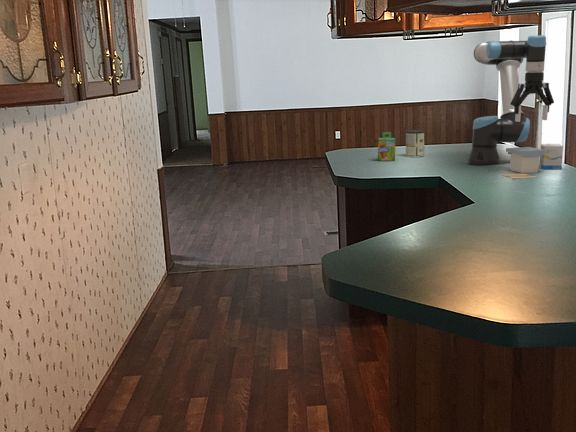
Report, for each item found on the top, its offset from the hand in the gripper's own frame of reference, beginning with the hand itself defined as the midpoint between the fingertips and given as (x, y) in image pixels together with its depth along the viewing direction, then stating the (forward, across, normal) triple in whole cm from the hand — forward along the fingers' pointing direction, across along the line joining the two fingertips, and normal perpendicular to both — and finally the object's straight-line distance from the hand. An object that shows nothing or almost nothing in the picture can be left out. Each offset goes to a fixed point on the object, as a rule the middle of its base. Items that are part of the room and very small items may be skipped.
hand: (531, 120), depth 280 cm
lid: (+14, -1, +1) cm, 14 cm away
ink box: (+24, +14, +3) cm, 28 cm away
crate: (+23, -1, +1) cm, 23 cm away
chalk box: (+25, -43, +62) cm, 79 cm away
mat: (+23, -12, -11) cm, 28 cm away
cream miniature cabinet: (+25, -23, +70) cm, 78 cm away
